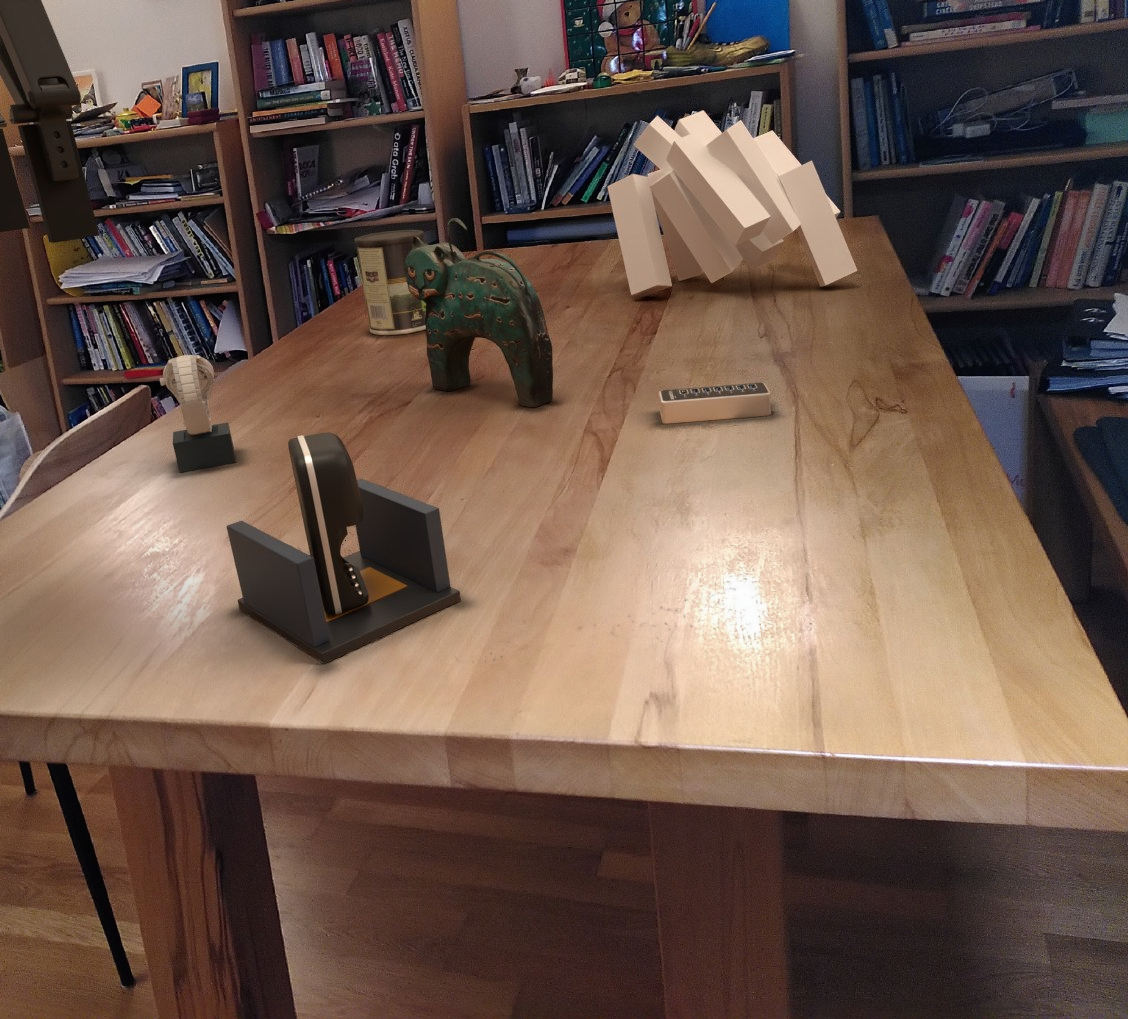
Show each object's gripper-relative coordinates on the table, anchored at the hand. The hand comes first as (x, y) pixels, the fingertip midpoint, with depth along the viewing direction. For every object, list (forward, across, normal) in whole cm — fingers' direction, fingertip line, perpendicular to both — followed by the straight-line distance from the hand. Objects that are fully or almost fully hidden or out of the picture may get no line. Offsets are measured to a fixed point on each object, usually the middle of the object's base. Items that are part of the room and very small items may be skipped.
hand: (39, 235), depth 67 cm
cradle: (+27, -13, -10) cm, 31 cm away
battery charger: (+26, -13, -10) cm, 31 cm away
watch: (+27, +28, -18) cm, 43 cm away
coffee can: (+27, +63, -66) cm, 95 cm away
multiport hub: (+27, -6, -58) cm, 64 cm away
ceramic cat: (+27, +21, -50) cm, 61 cm away
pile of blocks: (+27, +35, -110) cm, 119 cm away
